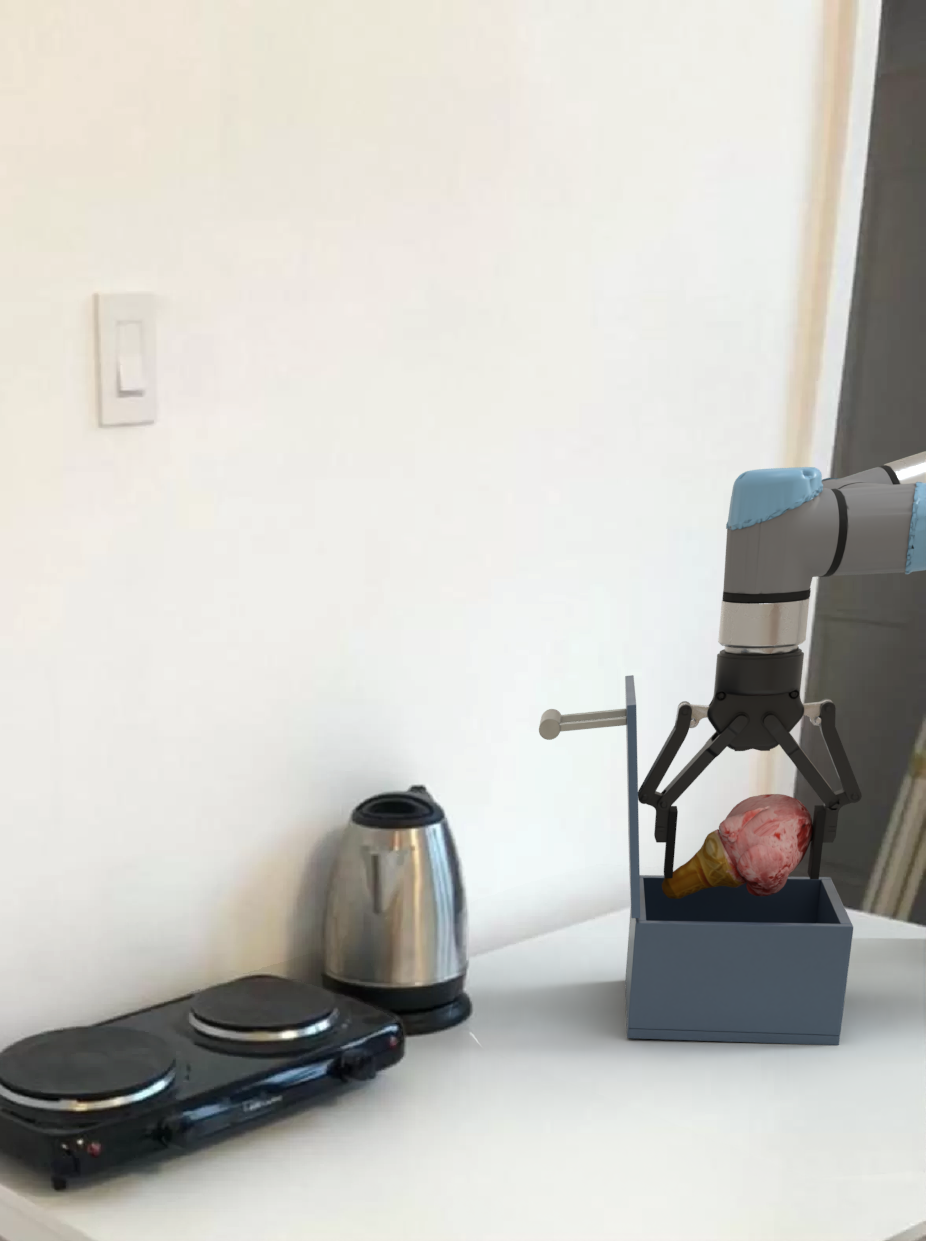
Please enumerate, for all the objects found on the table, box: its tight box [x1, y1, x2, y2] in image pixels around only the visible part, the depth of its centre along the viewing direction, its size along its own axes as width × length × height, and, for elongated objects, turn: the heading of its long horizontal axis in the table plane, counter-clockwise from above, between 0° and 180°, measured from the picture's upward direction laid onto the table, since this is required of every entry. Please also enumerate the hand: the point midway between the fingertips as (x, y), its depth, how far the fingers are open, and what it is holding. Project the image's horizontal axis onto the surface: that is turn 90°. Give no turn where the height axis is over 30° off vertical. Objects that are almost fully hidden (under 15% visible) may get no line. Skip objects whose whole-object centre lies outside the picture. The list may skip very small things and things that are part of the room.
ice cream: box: [662, 793, 813, 899], centre depth 173 cm, size 11×10×15 cm
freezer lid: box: [538, 674, 641, 918], centre depth 174 cm, size 20×19×9 cm
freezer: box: [624, 874, 854, 1046], centre depth 176 cm, size 19×19×12 cm
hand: (739, 875), depth 173 cm, fingers closed on ice cream, 12 cm apart
